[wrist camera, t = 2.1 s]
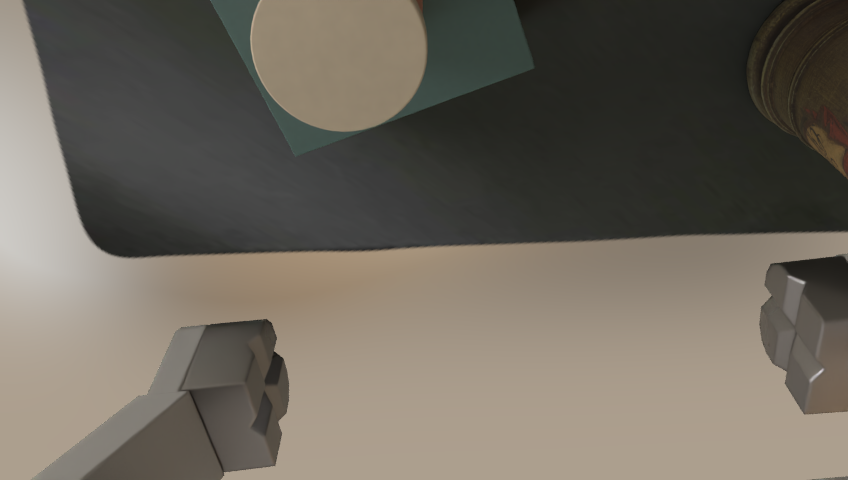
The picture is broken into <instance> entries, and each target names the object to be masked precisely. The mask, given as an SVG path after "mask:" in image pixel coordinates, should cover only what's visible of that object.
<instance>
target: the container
mask: <svg viewBox="0 0 848 480" xmlns="http://www.w3.org/2000/svg"><path fill="white" fill-rule="evenodd" d="M746 75H747V83H748V88H749V92H750V95H751V98H752V100H753V102H754V104H755V106H756V107H757V109H758V110H759V111H760V112H761V113H762V114H763V115H764V116H765V117H766V118H767V119H768V120H770V121H771V122H773V123H775V124H776V125H777V126H778V127H780V128H781V129H782V130H784V131H786V132H787V133H789V134H792V135H794V136H797V137H799V139H800V140H801V141H802V142H803V143H804V144H805V145H807V146H808V147H810V148H811V149H813V150H815V151H817V152H819V153H820V154H821V155H823V156H824V157H825V158H826V159H827V160H828V161H829V162H830V163H831V164H832V165H833V166H834V167H836V168H837V169H838V170H839V171H840V172H841V173H842V174H843V175H844V176H845V177H846V178H847V179H848V0H785V1H783V2H782V3H781V4H780V5H779V6H778V7H777V8H776V9H775V10H774V11H773V12H772V13H771V14H770V15H769V16H768V18H767V19H766V20H765V22H764V23H763V25H762V26H761V28H760V29H759V31H758V32H757V34H756V36H755V38H754V40H753V43H752V46H751V49H750V52H749V56H748V60H747V70H746Z"/></svg>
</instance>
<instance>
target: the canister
mask: <svg viewBox="0 0 848 480" xmlns="http://www.w3.org/2000/svg"><path fill="white" fill-rule="evenodd" d="M250 41H251V52H252V58H253V62H254V65H255V68H256V71H257V73H258V76H259V78H260V80H261V82H262V83H263V85H264V87H265V88H266V90H267V91H268V93H269V94H270V95H271V96H272V98H273V99H274V100H275V101H276V102H277V103H278V104H279V105H280V106H281V107H282V108H283V109H284V110H286V111H287V112H288V113H289V114H291V115H292V116H294V117H295V118H297V119H299V120H300V121H302V122H305V123H307V124H309V125H311V126H314V127H317V128H321V129H325V130H330V131H340V132H349V131H358V130H364V129H368V128H371V127H374V126H377V125H379V124H381V123H384V122H385V121H387V120H389V119H390V118H392V117H394V116H395V115H396V114H397V113H399V112H400V111H401V110H402V109H403V108H404V107H405V106H406V105H407V104H408V103H409V102H410V100H411V99H412V98H413V96H414V95H415V93H416V91H417V90H418V88H419V86H420V84H421V81H422V79H423V76H424V73H425V68H426V64H427V54H428V43H427V31H426V25H425V21H424V18H423V0H260V1H259V3H258V5H257V8H256V10H255V13H254V16H253V21H252V25H251V35H250Z"/></svg>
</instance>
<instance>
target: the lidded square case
mask: <svg viewBox="0 0 848 480" xmlns="http://www.w3.org/2000/svg"><path fill="white" fill-rule="evenodd" d="M259 1H260V0H211V2H212V4H213V6H214V7H215V9H216V11H217V13H218V15H219V17H220V18H221V20H222V22H223V24H224V26H225V28H226V29H227V31H228V33H229V35H230V37H231V39H232V41H233V42H234V44H235V46H236V48H237V50H238V52H239V53H240V55H241V57H242V59H243V61H244V63H245V64H246V66H247V68H248V70H249V72H250V74H251V75H252V77H253V79H254V81H255V83H256V85H257V86H258V88H259V90H260V92H261V94H262V96H263V98H264V99H265V101H266V103H267V105H268V107H269V109H270V110H271V112H272V114H273V116H274V118H275V120H276V121H277V123H278V125H279V127H280V129H281V131H282V132H283V134H284V136H285V138H286V140H287V142H288V143H289V145H290V147H291V149H292V151H293V153H294V155H295V156H299V155H301V154H304V153H307V152H309V151H312V150H315V149H318V148H320V147H323V146H326V145H328V144H331V143H334V142H337V141H339V140H342V139H345V138H347V137H350V136H353V135H355V134H358V133H361V132H364V131H366V130H369V129H372V128H374V127H377V126H380V125H382V124H385V123H388V122H391V121H393V120H396V119H399V118H401V117H404V116H407V115H409V114H412V113H415V112H418V111H420V110H423V109H426V108H428V107H431V106H434V105H436V104H439V103H442V102H445V101H447V100H450V99H453V98H455V97H458V96H461V95H464V94H466V93H469V92H472V91H474V90H477V89H480V88H482V87H485V86H488V85H491V84H493V83H496V82H499V81H501V80H504V79H507V78H509V77H512V76H515V75H518V74H520V73H523V72H526V71H528V70H531V69H534V68H535V65H534V61H533V58H532V55H531V52H530V49H529V46H528V43H527V40H526V36H525V33H524V30H523V27H522V24H521V21H520V18H519V15H518V11H517V8H516V5H515V2H514V0H423V18H424V21H425V25H426V31H427V43H428V54H427V64H426V68H425V73H424V76H423V79H422V81H421V84H420V86H419V88H418V90H417V91H416V93H415V95H414V96H413V98H412V99H411V100H410V102H409V103H408V104H407V105H406V106H405V107H404V108H403V109H402V110H401V111H400V112H399V113H397V114H396V115H395V116H394V117H392V118H390V119H389V120H387V121H385V122H384V123H381V124H379V125H377V126H374V127H371V128H368V129H364V130H358V131H349V132H340V131H330V130H325V129H321V128H317V127H314V126H311V125H309V124H307V123H305V122H302V121H300V120H299V119H297V118H295V117H294V116H292V115H291V114H289V113H288V112H287V111H286V110H284V109H283V108H282V107H281V106H280V105H279V104H278V103H277V102H276V101H275V100H274V99H273V98H272V96H271V95H270V94H269V93H268V91H267V90H266V88H265V87H264V85H263V83H262V82H261V80H260V78H259V76H258V73H257V71H256V68H255V65H254V62H253V58H252V52H251V41H250V35H251V25H252V21H253V16H254V13H255V10H256V8H257V5H258V3H259Z"/></svg>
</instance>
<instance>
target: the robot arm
mask: <svg viewBox="0 0 848 480" xmlns="http://www.w3.org/2000/svg"><path fill="white" fill-rule="evenodd" d="M765 286H766V288H767V289H768V291H769V292H770V293H771V295H772V296H771V297H770V298H769V300H768V301H767V302H766V303H765V304H764V305H763V306H762V307H761V314H760V331H761V338H762V342H763V345H764V348H765V351H766V353H767V355H768V356H769V358H770V360H771V361H772V363H773V364H774V365H776V366H778V367H780V368H782V369H783V370H785V371H787V375H786V380H785V384H786V386H787V388H788V389H789V391H790V392H791V394H792V396H793V397H794V399H795V401H796V402H797V404H798V405H799V407H800V409H801V410H802V412H803V413H804V414H818V413H832V412H845V411H848V254H842V255H836V256H835V257H826V258H818V259H809V260H800V261H791V262H783V263H774V264H771V265H770V267H769V269H768V271H767V274H766V280H765ZM276 340H277V337H276V334H275V331H274V329H273V326H272V323H271V322H269V321H268V320H267V319H264V320H253V321H242V322H230V323H220V324H211V325H200V326H190V327H181V328H180V329H178V330H177V331H176V332H175V333H174V336H173V338H172V340H171V343H170V345H169V347H168V349H167V351H166V353H165V356H164V358H163V360H162V362H161V365H160V367H159V369H158V371H157V374H156V376H155V378H154V381H153V383H152V385H151V387H150V389H149V391H148V394H147V395H143V396H138V397H136V398H135V399H134V400H133V401H131V402H130V403H129V404H127V405H126V406H125V407H124V408H122V409H121V410H120V411H118V412H117V413H116V414H114V415H113V416H112V417H111V418H109V419H108V420H107V421H106V422H104V423H103V424H102V425H100V426H99V427H98V428H97V429H95V430H94V431H93V432H91V433H90V434H89V435H88V436H86V437H85V438H84V439H83V440H81V441H80V442H79V443H77V444H76V445H75V446H73V447H72V448H71V449H70V450H68V451H67V452H66V453H65V454H63V455H62V456H61V457H59V458H58V459H57V460H56V461H54V462H53V463H52V464H50V465H49V466H48V467H47V468H45V469H44V470H43V471H42V472H40V473H39V474H38V475H36V476H35V477H34V478H32V480H221V479H222V477H223V476H224V473H223V472H230V471H238V470H246V469H253V468H262V467H270V466H275V464H276V459H277V455H278V450H279V445H280V441H281V436H282V432H281V429H280V426H279V424H278V421H279V420H280V419H281V418H282V417H283V416H284V415H285V414H286V412H287V407H288V402H289V381H288V374H287V369H286V366H285V363H284V359H283V358H282V357H280V355H278V354H277V353H276V352H274V348H275V344H276ZM813 480H848V477H847V476H846V477H835V478H826V479H825V478H824V479H813Z"/></svg>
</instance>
